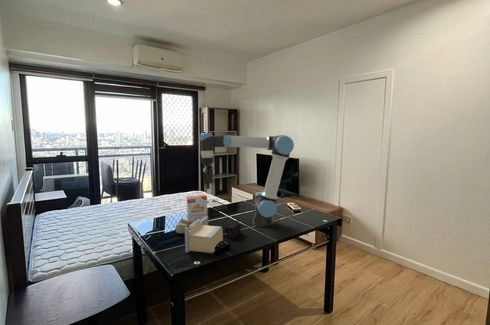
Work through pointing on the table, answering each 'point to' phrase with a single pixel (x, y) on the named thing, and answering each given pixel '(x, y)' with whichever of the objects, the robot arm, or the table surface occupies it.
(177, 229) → the ceramic sculpture
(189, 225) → the bar
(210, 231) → the lid
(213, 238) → the carton
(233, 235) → the digital camera
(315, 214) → the table surface
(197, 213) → the cracker box
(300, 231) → the table surface
